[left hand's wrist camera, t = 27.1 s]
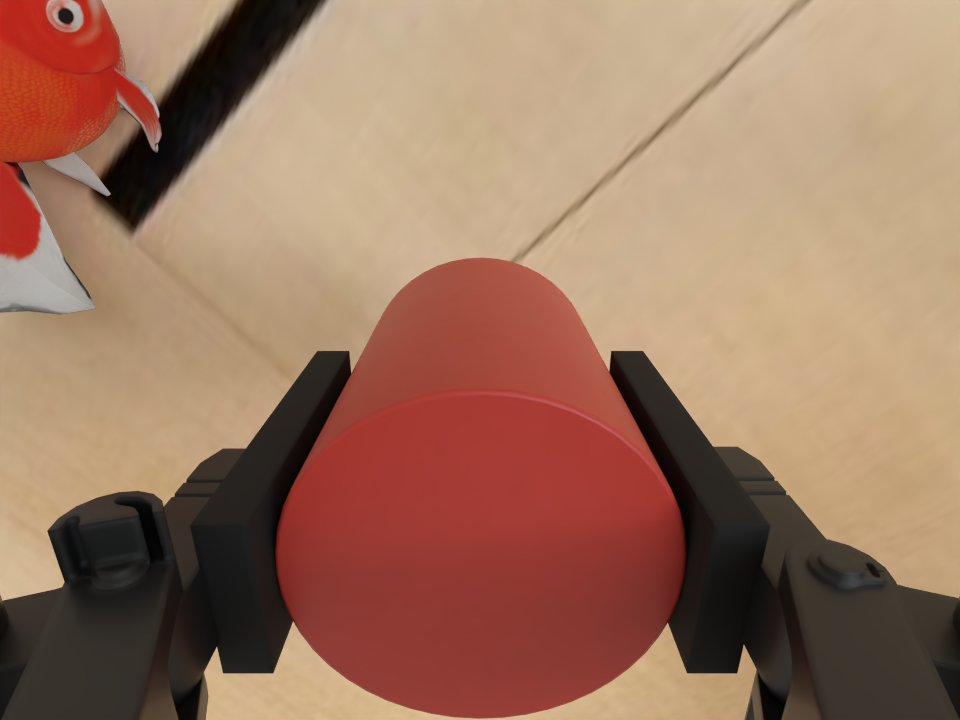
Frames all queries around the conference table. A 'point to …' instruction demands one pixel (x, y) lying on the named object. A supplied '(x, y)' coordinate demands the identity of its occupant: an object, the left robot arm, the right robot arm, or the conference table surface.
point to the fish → (55, 133)
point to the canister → (480, 507)
